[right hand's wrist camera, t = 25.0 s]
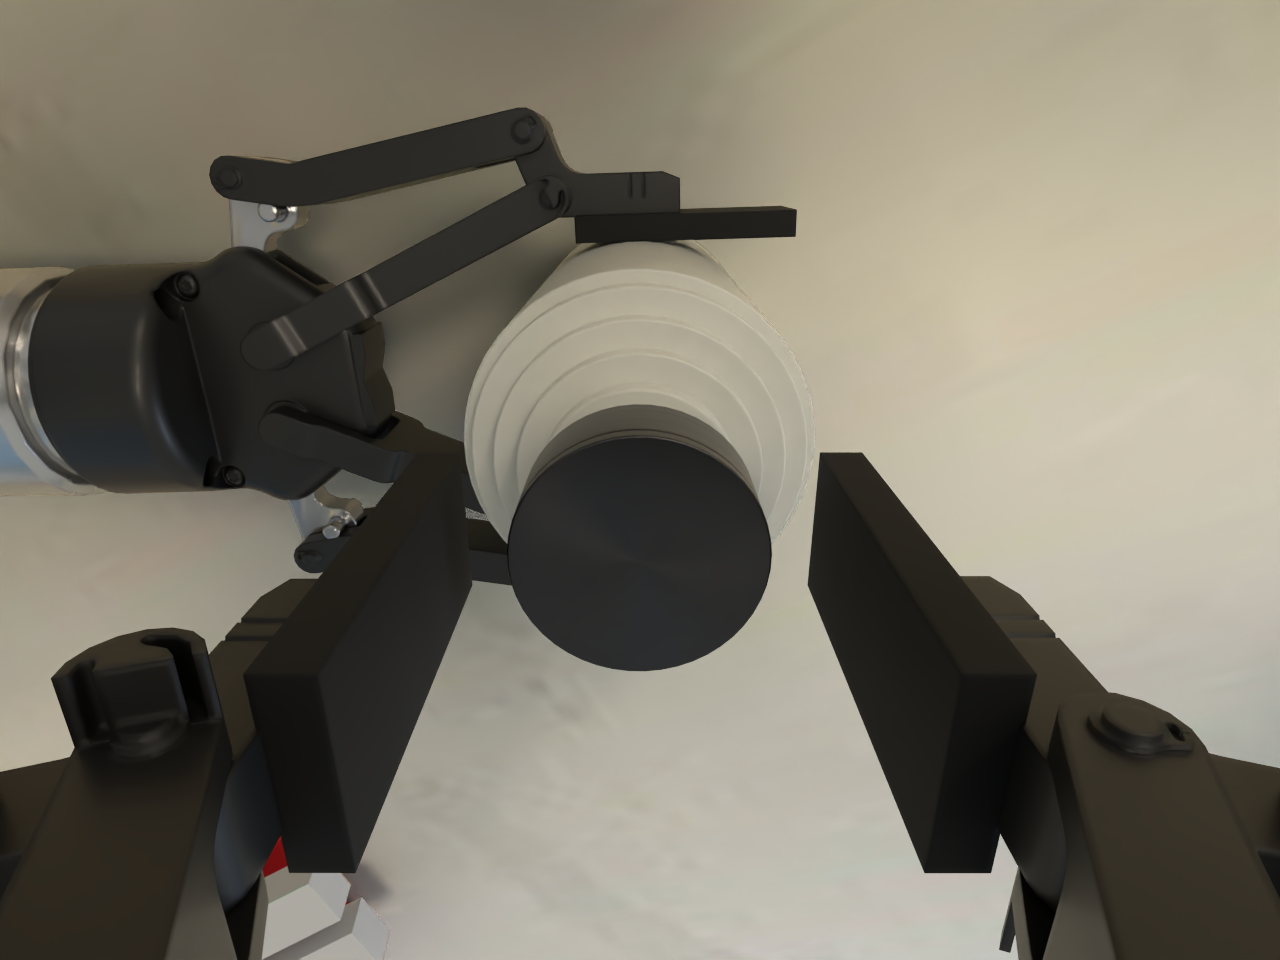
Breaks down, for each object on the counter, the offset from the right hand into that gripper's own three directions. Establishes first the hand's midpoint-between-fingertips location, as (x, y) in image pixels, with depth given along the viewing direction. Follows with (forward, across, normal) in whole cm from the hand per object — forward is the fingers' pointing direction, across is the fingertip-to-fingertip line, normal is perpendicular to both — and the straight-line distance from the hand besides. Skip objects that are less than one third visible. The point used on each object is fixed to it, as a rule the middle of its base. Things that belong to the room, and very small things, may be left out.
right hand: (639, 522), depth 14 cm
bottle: (+19, 0, 0) cm, 19 cm away
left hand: (+12, -5, 0) cm, 13 cm away
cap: (-1, 0, 0) cm, 1 cm away
